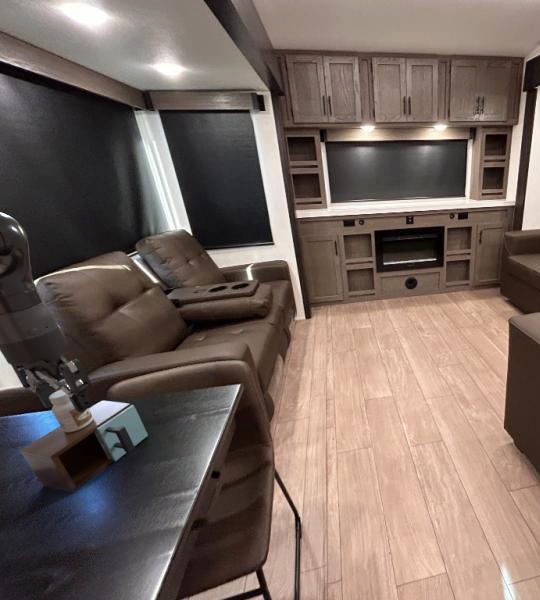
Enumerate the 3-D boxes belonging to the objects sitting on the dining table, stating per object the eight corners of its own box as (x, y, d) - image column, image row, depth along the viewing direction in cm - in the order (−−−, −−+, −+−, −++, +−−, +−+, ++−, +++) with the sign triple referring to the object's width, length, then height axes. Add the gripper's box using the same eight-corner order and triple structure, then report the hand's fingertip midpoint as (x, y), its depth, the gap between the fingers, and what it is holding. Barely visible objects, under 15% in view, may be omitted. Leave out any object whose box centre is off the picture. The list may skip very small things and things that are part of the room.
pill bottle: (87, 428, 62) (69, 395, 59) (58, 436, 60) (39, 403, 57) (98, 414, 65) (81, 383, 63) (71, 421, 64) (53, 389, 61)
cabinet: (43, 486, 61) (19, 450, 57) (118, 431, 73) (102, 400, 70) (73, 493, 59) (50, 456, 56) (145, 436, 71) (130, 403, 68)
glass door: (113, 460, 65) (96, 428, 62) (146, 435, 71) (131, 404, 68) (131, 464, 64) (114, 431, 61) (162, 437, 70) (148, 407, 67)
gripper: (81, 323, 57) (117, 397, 63) (27, 321, 60) (65, 391, 66) (27, 344, 50) (73, 425, 56) (-30, 340, 54) (18, 416, 59)
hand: (69, 406), depth 61 cm, fingers open, 8 cm apart
